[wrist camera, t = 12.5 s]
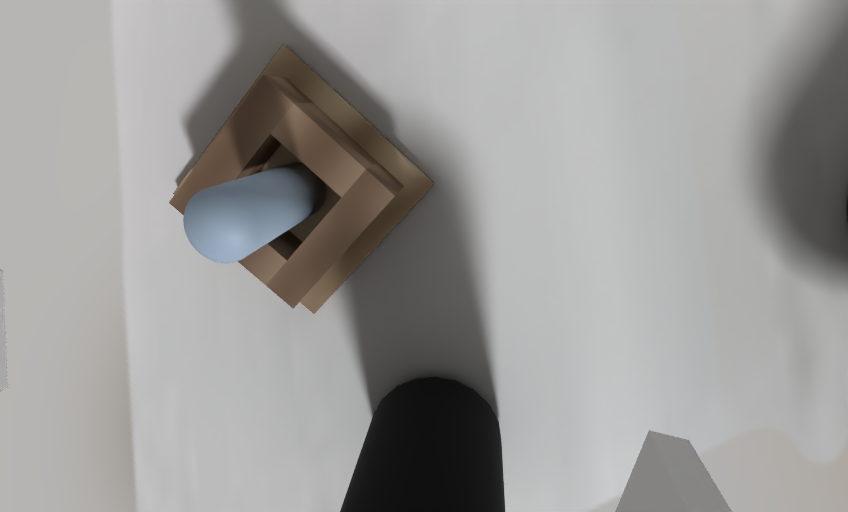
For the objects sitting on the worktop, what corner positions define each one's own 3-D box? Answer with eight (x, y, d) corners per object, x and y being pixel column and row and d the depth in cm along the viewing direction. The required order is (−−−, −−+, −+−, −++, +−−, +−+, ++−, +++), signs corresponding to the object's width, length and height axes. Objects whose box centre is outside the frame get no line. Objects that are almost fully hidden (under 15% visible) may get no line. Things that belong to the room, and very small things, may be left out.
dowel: (337, 188, 38) (273, 224, 26) (304, 227, 39) (229, 278, 27) (295, 150, 37) (211, 170, 26) (262, 191, 38) (169, 227, 27)
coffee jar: (398, 489, 46) (348, 722, 29) (356, 386, 43) (273, 574, 26) (516, 465, 44) (537, 699, 27) (478, 355, 41) (476, 537, 24)
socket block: (434, 183, 38) (427, 194, 33) (317, 310, 42) (296, 336, 37) (286, 45, 36) (258, 38, 31) (179, 191, 40) (139, 203, 35)
